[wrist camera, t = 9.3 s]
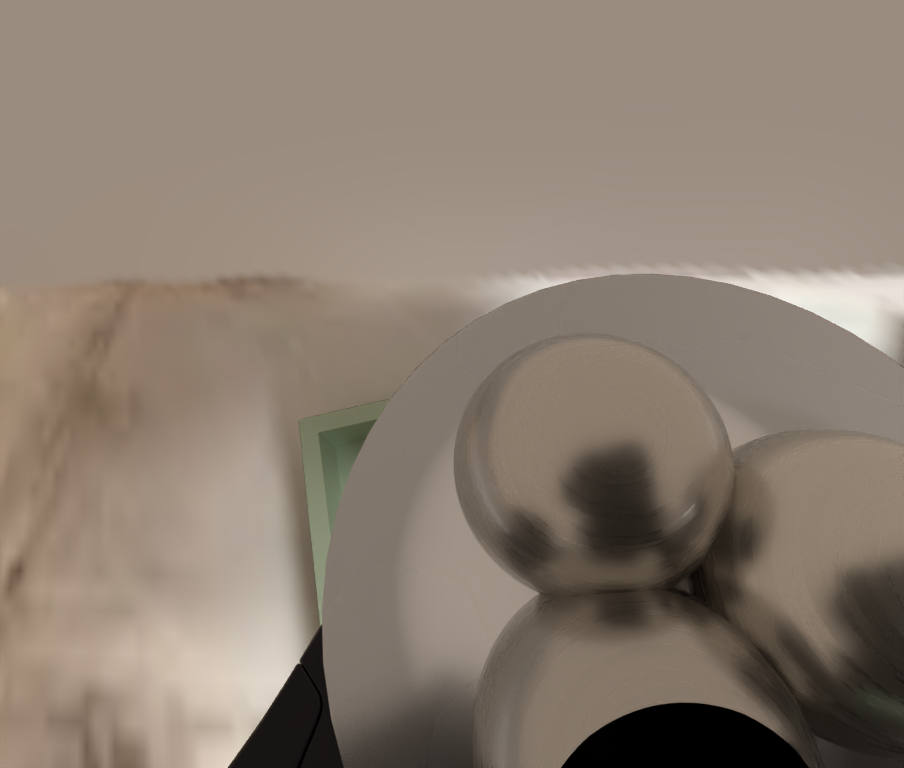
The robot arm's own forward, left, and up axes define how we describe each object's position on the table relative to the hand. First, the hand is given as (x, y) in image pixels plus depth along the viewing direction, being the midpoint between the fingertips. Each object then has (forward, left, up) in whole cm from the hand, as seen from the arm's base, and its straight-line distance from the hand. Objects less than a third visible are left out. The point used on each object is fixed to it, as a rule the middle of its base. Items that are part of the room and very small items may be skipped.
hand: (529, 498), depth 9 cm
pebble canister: (-1, -1, -6) cm, 6 cm away
